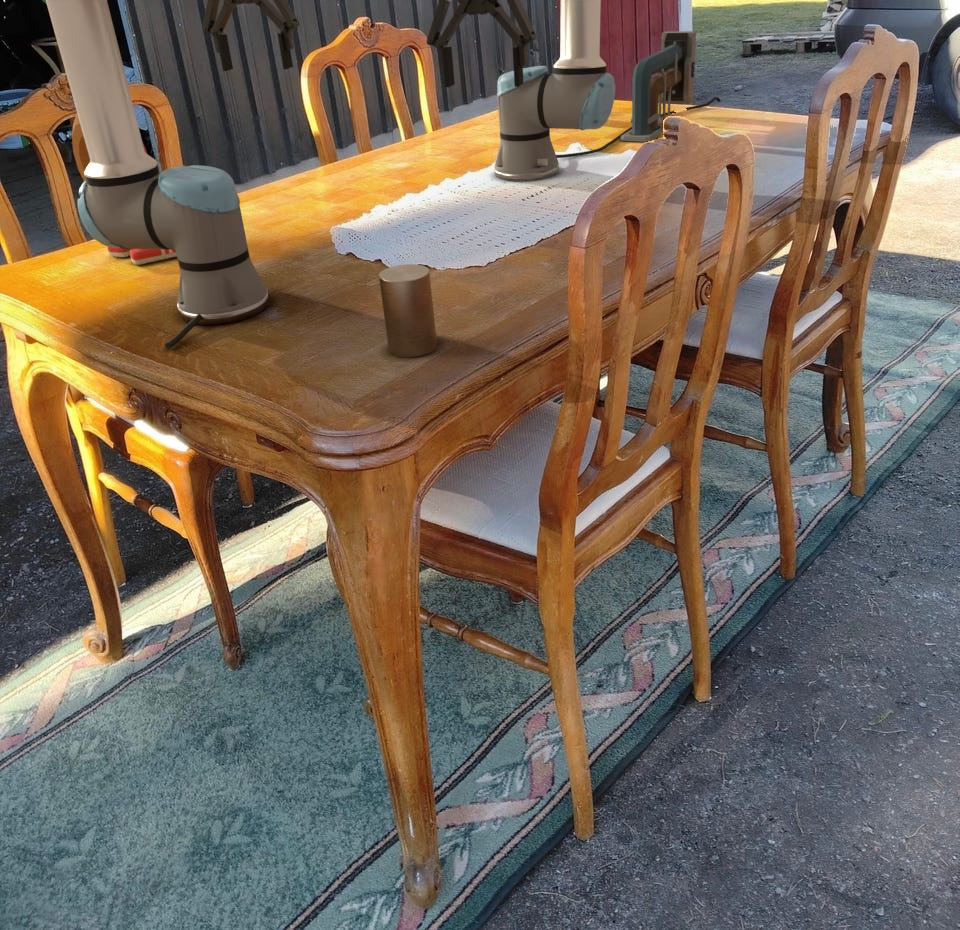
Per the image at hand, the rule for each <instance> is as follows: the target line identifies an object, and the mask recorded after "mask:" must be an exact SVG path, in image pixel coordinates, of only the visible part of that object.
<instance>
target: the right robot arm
mask: <svg viewBox="0 0 960 930" xmlns="http://www.w3.org/2000/svg"><path fill="white" fill-rule="evenodd" d="M452 1H453V0H438V3H437V7H436V10H435V13H434V16H433V20H432V22H431V26H430V28H429V32H428V34H427V37H426V44H427V45H428V46H432V47H434V48H436V50H437V59H438V66H439V68H443V77H444V87H445V88H450V87H452V86H455V84H456V82H455V71H454V59H453V48H452V46H449V43H450V41H451V39H452V38H453V36H454V34H455V33H456V31H457V29H458V28H459V26H460V25H461V23H462V21H463V20H464V18H465V17H466V16H467V15H468V16H474V15H481V16H482V15H484V16H485V15H487V14H489V15H490V16H492V18H494V19H495V20H496V22H497V23H498V24H499V25H500V26H501V27H502V29H503V30H504V31H505V33H506V34H507V35H508V36H509V37H510V39H511V40H512V41H513V42H514V44H515V46H513V47H512V61H513V62H512V63H513V70H512V71H508V72H505V73H503V74H501V75H500V76H499V77H498V79H497V86H496V87H497V88H496V89H497V91H496V92H497V93H496V98H497V110H498V123H499V136H500V139H499V140H500V141H499V146H498V151H497V153H496V158H495V163H494V176H495V177H496V178H498V179H500V180H504V181H513V182H527V181H537V180H542V179H547V178H550V177H553V176H555V175H556V174H558V173H559V171H560V163H559V159H564V158H565V159H566V158H573V157H580V156H586V155H591V154H595V153H598V152H602V151H604V150H606V149H607V148H608V147H610V146H611V145H613V144H614V143H616V142H617V141H618V140H620V138H621V136H622V135H623V134H625V133H626V132H628V131H630V130H631V129H632V126H630V127H628V128H627V129H626V130H624V131H623V132H622V133H620V134H619V135H618V136H615V137H614V138H613V139H612V140H610V141H609V142H607V143H605V144H604V145H603V146H601V147H599V148H596V149H592V150H585V151H580V152H573V153H565V154H556V151H555V148H554V145H553V142H552V140H551V129H555V130H556V129H557V130H580V131H586V130H598V129H601V128H603V126H605V125H606V123H607V122H608V120H609V118H610V116H611V114H612V110H613V107H614V104H615V97H616V83H615V78H614V76H613V75H612V74H611V73H609V72H607V64H606V62H605V61H604V60H603V59H602V57H601V56H600V54H601V53H600V52H601V51H600V50H601V49H600V48H601V3H602V1H601V0H560V11H559V13H560V20H559V21H560V25H559V27H560V29H559V30H560V35H559V36H560V37H559V38H560V40H559V41H560V42H559V43H560V46H559V48H560V49H559V50H560V51H559V52H560V53H559V59H558V60H557V61H555V63H554V64H553V70H552V71H553V73H549V69H548V67H547V66H546V65H535V66H530V67H524V66H526V65H527V64H528V47H527V46H528V44H529V43H532V42H533V41H536V39H537V37H538V36H537V33H536V31H535V30H534V27H533V25H532V23H531V21H530V19H529V17H528V15H527V12H526V11H525V8H524V6H523V5H522V3H521V1H520V0H506V2H507V4H508V7H509V9H510V11H511V13H512V15H513V17H514V19H515V21H516V23H517V24H516V23H515V22H514V21H513V20H512V19H511V17H510V16H509V14H508V13H506V11H505V9H504V7H503V6H502V5H501V3H500V2H499V1H498V0H456V1H457V3H458V5H457V7H456V9H455V11H454V12H453V15H452V16H451V18H450V20H449V21H448V23H447V24H446V27H445V28H444V30H443V32H442V29H443V26H444V23H445V19H446V17H447V14H448V11H449V7H450V4H451V2H452ZM517 25H518V26H517ZM523 67H524V68H523ZM715 101H717V102H718V103H720V102H722V100H721V99H720V97H718V96H713V97H712V98H711V99H710V100H709V101H707V102H706V103H702V104H698V105H693V106H687V107H685V108H686V109H687V111H691V110H695V109H696V110H697V109H700V108H705V107H709V105H711V104H712V103H713V102H715ZM674 111H675V110H670V115H673V114H672V113H674V114H677V113H676V112H674ZM667 115H668V111H666V112H665V117H667ZM661 117H663V113H661Z"/></svg>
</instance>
